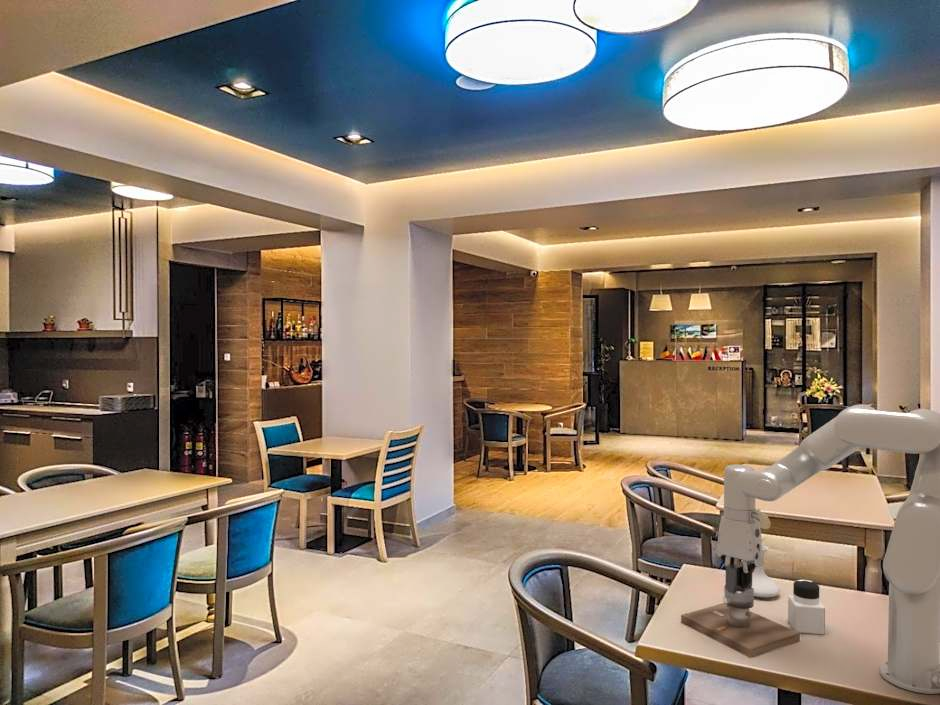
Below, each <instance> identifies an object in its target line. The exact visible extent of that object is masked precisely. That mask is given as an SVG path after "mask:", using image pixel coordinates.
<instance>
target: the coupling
mask: <svg viewBox="0 0 940 705" xmlns="http://www.w3.org/2000/svg"><path fill="white" fill-rule="evenodd" d="M741 572H743V561H742V560H741V561H739V562H736V563H735V564H732V565H729V566H726V567H725V584H724V589H723V590H724V596H723V597H722V603H725V604H727V605H728V606H731V607H734V608H739V609H749V610H750V609H751V608H753V607H754V602H755V600H754V597H755V596H754V589H753V588H752V573H753V570H752V571H751V583H750V584H749V586H747V587H745V588H742V587H741Z"/></svg>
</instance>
